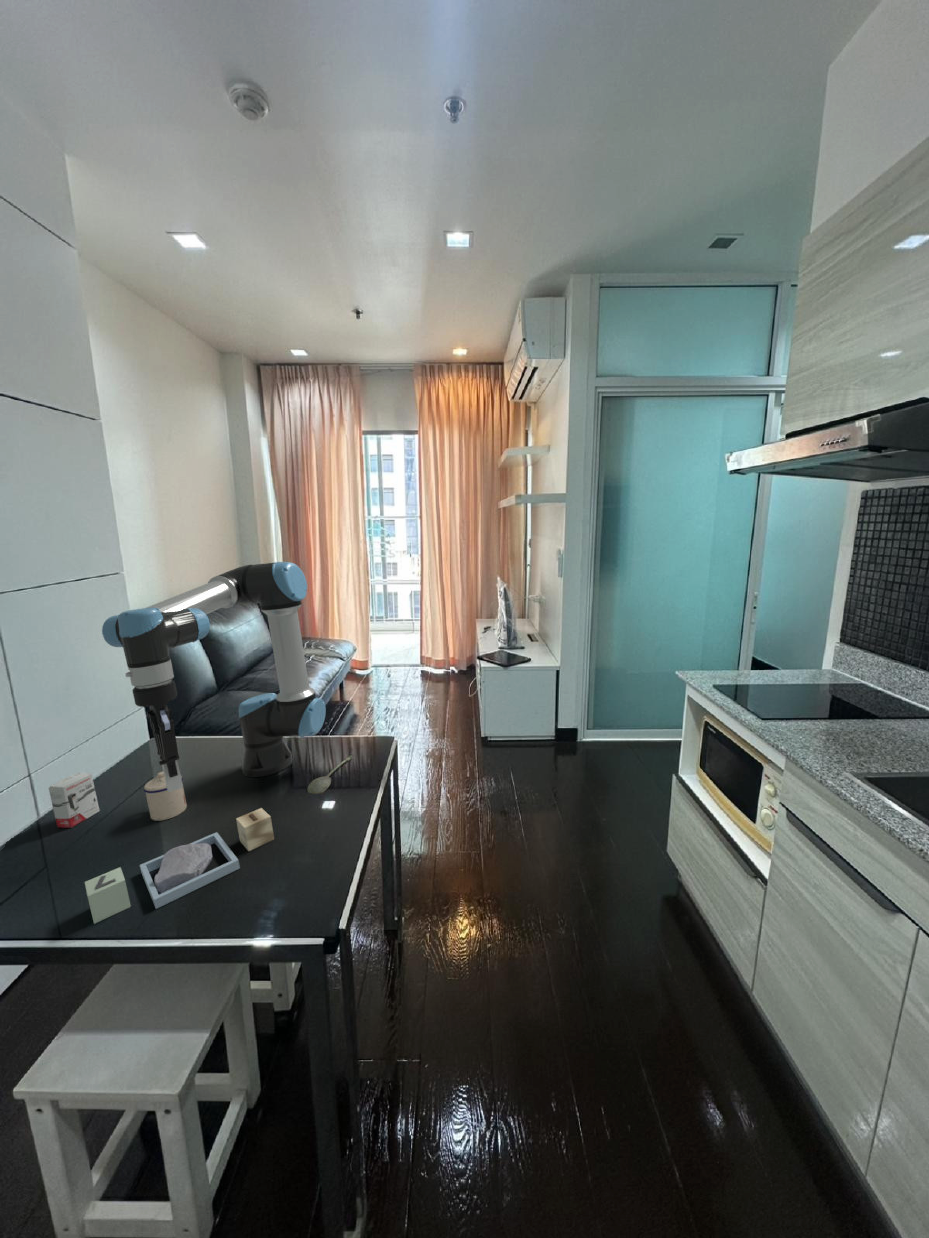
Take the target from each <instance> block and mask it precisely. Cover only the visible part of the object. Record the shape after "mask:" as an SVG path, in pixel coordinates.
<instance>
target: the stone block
mask: <svg viewBox="0 0 929 1238" xmlns="http://www.w3.org/2000/svg"><path fill="white" fill-rule="evenodd" d="M212 850H213V849H212V845H209V844H206V843H196V844H190V843H188V844H184V845H183V844H182V845H179V846H176V847H173V848H171V849H169V850H168V851H167V852H166V853H165V854H163V855H164V857H163V859H162V862H161V866H160V868H159V870H158V872H157V873H156V874H155V876H154V881H153V883H154V885H155V887H156V890H157V892H158V894H159V895H160V894H162V893H164V892H166V891H168V890H170V889H172V888H174V887H177V886H179V885H181V884H183V883H185V882H187V881H189V880H191V879H194V878H196V877H198V876H200V875H202V874H204V873H205V871H206V870H207V869H208V866H209V865H210V863H211V862H212V860H213V852H212Z"/></svg>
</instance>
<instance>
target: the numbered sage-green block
mask: <svg viewBox="0 0 929 1238" xmlns="http://www.w3.org/2000/svg"><path fill="white" fill-rule="evenodd" d="M126 883H127V882H126V879H125V876H124V873H123V870H122V868H121V866H120V867H117V868H114V869H112V870H110V871H108V872H106V873H102V874H101V875H98V876H96V877H94V878H91V879H89V880H86V881H84V885H85V890H86V895H87V900H88V904H89V908H90V912H91V916H92V920H93V922H92V923H93V924H94V925H95V924H96V923H99V922H101V921H103V920H105V919H107V918H109V917H112V916H114V915H116V914H119V913H120V912H122V911H125V910H127V909H129V908H130V907H132V906H131V901H130V896H129V892H128V891H129V890H128V887H127V884H126Z"/></svg>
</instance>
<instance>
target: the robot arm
mask: <svg viewBox="0 0 929 1238" xmlns="http://www.w3.org/2000/svg"><path fill="white" fill-rule="evenodd" d="M307 583H308V582H307V579H306V577H305V574H304V572H303V570H302V569H301V568H300V567H299V565H297V564H296V563H293V562H290V561H275V562H268V563H267V562H266V563H258V564H257V563H255V564H247V565H246V564H245V565H242V566H239V567H236V568H233V569H231V570H228V571H226V572H223V573H221V574H218V575H215V576H213V577H212V578H210V579H209V580H208V582H207V583H206V584H203V585H201V586H197V587H194V588H193V589H191V590H187V591H185V592H182V593H180V594H178V595H175V596H172V597H170V598H168V599H163V600H162V601H160V602H157V603H155V604H152V605H150V606H147V607H145V608H144V607H142V608H137V609H131V610H125V611H123V612H120V613H119V614H117V615H113V616H110V617H108V618H107V619H106V620H105V621H104V622H103V625H102V626H101V627H102V628H101V634H102V637H103V639H104V641H105V642H106V643H107V644H108V645H109V646H111V647H114V648H123V653H124V657H125V660H126V667H127V669H128V672H126V673H125V677H126V678H129V679H130V683H131V686H132V687H133V689H132V694H133V699H134V705H135V706H136V707H140V708H146V707H149V710H148V711H146V715H147V719H149V723H150V727H151V729H152V733H153V738H154V742H155V746H156V749H157V755H158V756H159V759H160V760H161V761H158V763H159V766H162V772H164V777H165V782H166V786H167V791H168V792H172V791H174V790H177V789H180V788H184V784H183V785H182V783H183V780H181V776H182V775H181V771H180V765H179V761H178V760H180V756H179V750H178V749H179V748H178V744H177V738H176V732H175V731H176V730H175V723H176V722H175V720H174V719H173V715H174V714H173V710H172V708H171V707H170V706H169V705H167V704H168V702H170V701H171V702H172V701H173V700H175V699H176V698H177V697H178V691H177V686H176V681H175V680H173V679H174V678H175V675H174V670H173V669H174V668H173V663H172V660H171V656H170V649H173V648H176V647H177V648H178V647H180V646H183V645H187V644H191V643H196V642H197V641H199V640H202V639H204V638H206V636H207V635H208V634H209V632H210V629H211V624H210V619H209V617H208V615H209V614H211V613H212V612H213V613H214V612H215V611H217V610H219V609H230V608H232V607H234V606H237V605H239V606H240V605H246V604H247V605H248V604H259V608H260V611H261V612H262V613H263V614H265V615H266V616H267V622H268V626H269V632H270V638H271V645H272V651H273V658H274V662H275V670H276V675H277V680H278V687H279V693H278V694H276V693H274V692H268V693H264V694H263V693H262V694H259V695H255V696H253V697H250V698H248V699H246V700H244V701H242V702H241V703H240V704H239V705H238V718H239V724H240V729H241V736H242V738H243V739H242V740H243V745H244V751H243V755H242V756H243V757H242V761H241V771H242V774H243V775H244V776H246V777H248V778H249V777H250V778H258V777H267V776H270V775H273V774H277V773H280V772H281V771H283V770H285V769H287V768H288V767H289V766H290V765H292V763H293V754H292V752H291V750H290V749H289V746H288V744H287V743H286V741H285V739H284V737H288V738H291V737H292V738H298V737H299V738H305V737H313V736H315V735H317V734H318V733H319V732H320V731H321V729H322V727H323V725H324V722H325V718H326V713H327V712H326V710H327V709H326V703H325V701H324V700H323V699H322V698H320V697H317V696H316V690H315V688H313V687H311V686H310V684H309V678H308V677H309V676H308V671H307V664H306V658H305V651H304V645H303V638H302V631H301V626H300V619H299V614H298V610H300V608H301V606H302V600H304V599H305V597H306V596H307V593H308V592H307V591H308V584H307Z"/></svg>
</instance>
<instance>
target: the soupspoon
mask: <svg viewBox="0 0 929 1238" xmlns="http://www.w3.org/2000/svg"><path fill="white" fill-rule="evenodd" d="M352 760H353V756H352V755H349V756H347V758H345V759H344V760H342V761H341V762H340V763H339V764H338V765H336V766H335V767H334V768H332V770H331V771H330V772H328V773H327V774H326V776H320V777H317V778H315V779H313V780H312V781H311V782H310V783H309V784H308V786H307V788H306V790H307V793H309V794H322V793H325V792H326V791H327V790H328V788H329V787H330V785H331V783H332V778H331V777H330V776H332V774H333V773H334V772H335V771H336V770H337V769H338V768H340V767H341V766H342V765H343V764H344V763H347V762H348V761H352Z"/></svg>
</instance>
